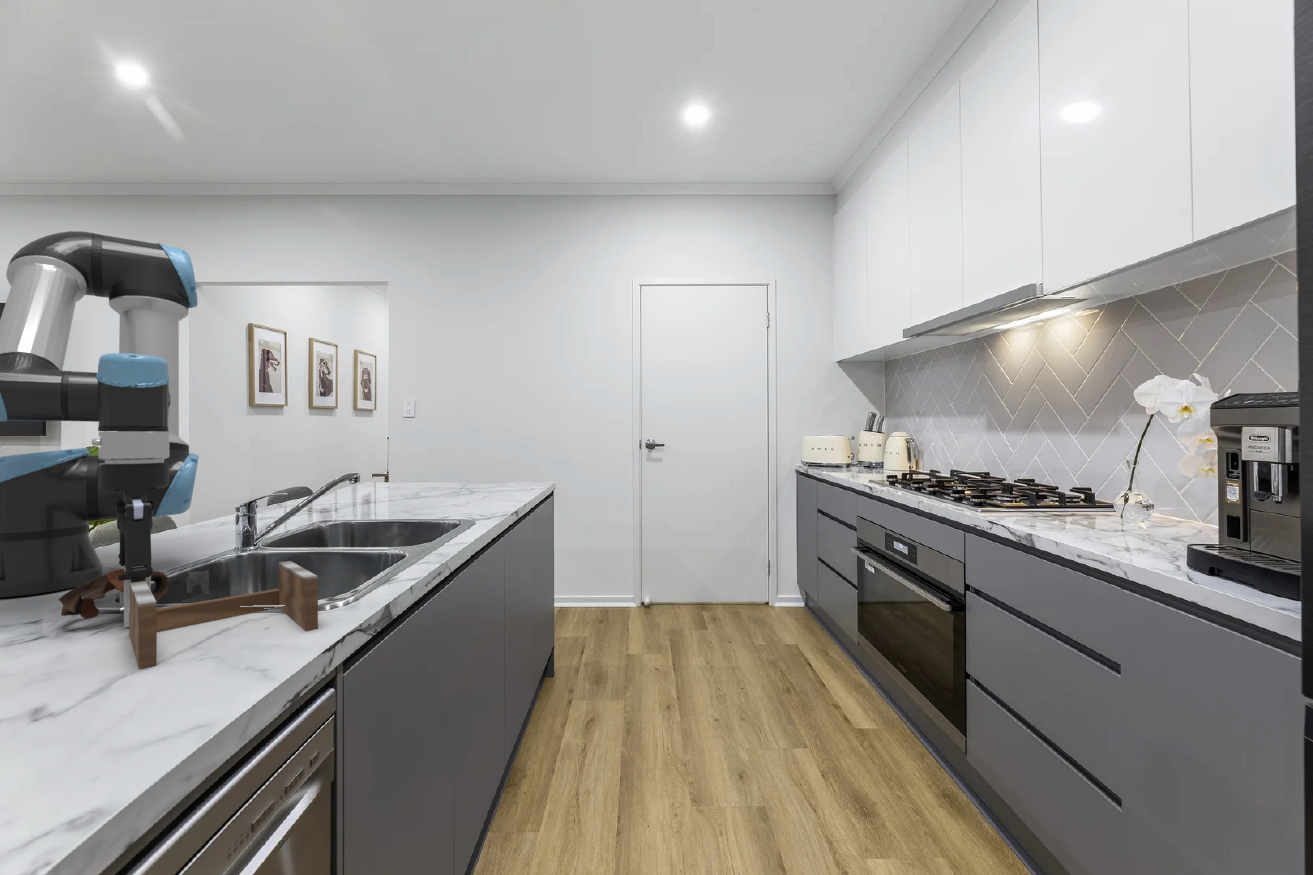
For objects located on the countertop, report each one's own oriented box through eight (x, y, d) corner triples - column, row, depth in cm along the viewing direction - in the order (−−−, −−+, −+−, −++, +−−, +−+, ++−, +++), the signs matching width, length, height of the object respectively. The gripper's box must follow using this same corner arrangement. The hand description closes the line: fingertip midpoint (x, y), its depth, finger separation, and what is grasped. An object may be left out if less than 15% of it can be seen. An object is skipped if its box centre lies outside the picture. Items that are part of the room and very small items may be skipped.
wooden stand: (129, 635, 74) (129, 580, 74) (287, 606, 87) (287, 559, 87) (138, 668, 63) (138, 604, 63) (317, 629, 76) (317, 575, 76)
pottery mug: (113, 635, 74) (75, 584, 73) (70, 661, 76) (33, 612, 76) (198, 591, 86) (166, 547, 85) (158, 615, 88) (127, 572, 87)
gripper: (95, 460, 86) (95, 606, 86) (100, 465, 70) (100, 642, 71) (160, 458, 91) (160, 596, 91) (178, 463, 76) (178, 628, 76)
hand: (134, 616), depth 81 cm, fingers closed on pottery mug, 9 cm apart
